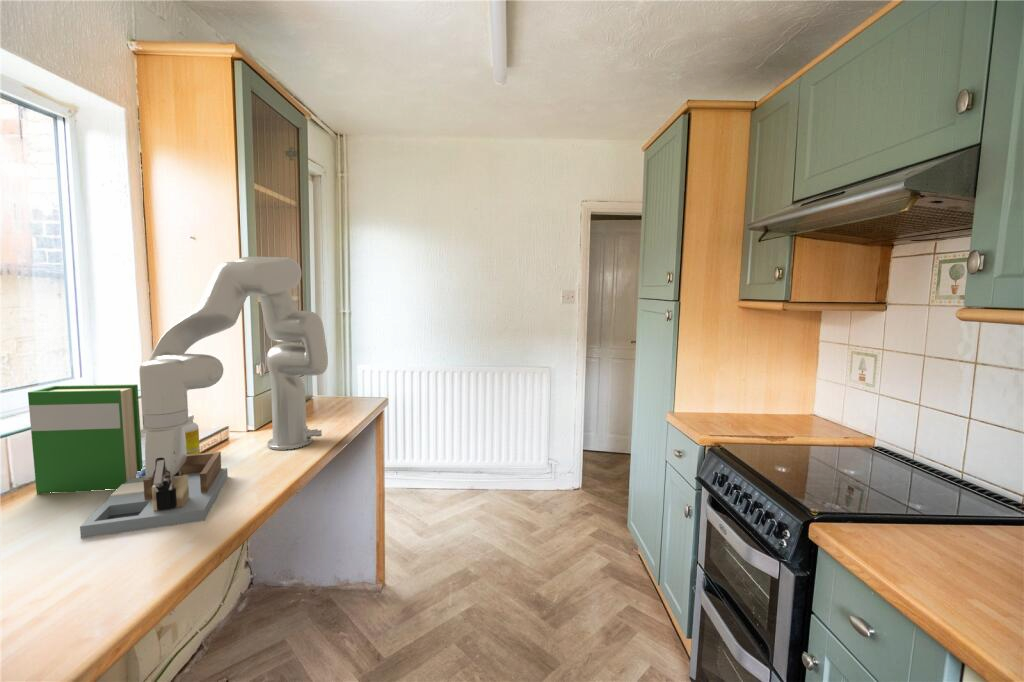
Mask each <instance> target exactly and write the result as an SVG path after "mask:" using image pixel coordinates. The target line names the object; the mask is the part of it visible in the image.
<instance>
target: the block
mask: <svg viewBox="0 0 1024 682" xmlns="http://www.w3.org/2000/svg"><path fill="white" fill-rule="evenodd" d="M164 480H165V481H167V482H168V483H169V478H166V479H164ZM174 488H176V502H177V506H176V507H175V508H178V507H183V505H184V504H185V502H186V501H187V499H188V498H189V486H188V475H182V476H174ZM174 488H173V489H174ZM155 489H156V487H155V485H153V486H152V501H153V511H156V510H157V501H156V491H155Z"/></svg>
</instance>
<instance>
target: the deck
mask: <svg viewBox="0 0 1024 682" xmlns="http://www.w3.org/2000/svg"><path fill="white" fill-rule="evenodd" d="M200 473H201V472H200ZM200 473H191V474H183V475H188V486H189V498H188V499H187V501H186V502H185V504H184V505H183V507H178V508H171V509H164V510H156V511H153V501H152V500H145V498H144V482H143V480H144V479H145V478H146V476H143V477H139V478H130V479H129V480H128V481H127V482H126V483H125V484H122V485H121V486H120V487H119V488H118V489H117V490H114V491H113V492H112V493H111V494H110V497H109V498H108V499H107V500H105V502H104V503H103V504H102V505H101V506H99V508H98V509H96V511H95V512H94V513H92V514H91V515H90V516H89V517H88V518H87V519H86V520H85V521H84V522H82V524H81V525H80V526H79V531H80V539H86V538H93V537H100V536H106V535H113V534H121V533H128V532H135V530H136V531H141V530H147V529H156V528H162V527H167V526H168V527H169V526H170V527H171V526H176V525H177V526H178V525H183V524H191V523H197V522H203V521H205V520H206V519H207V517H208V515H209V514H210V512H211V509H212V507H213V506H212V505H214V504H215V502H216V500H217V499H218V498H217V497H218V496H219V494H220V492H221V490H222V489H221V488H223V487H222V486H224V485H223V484H225V483H226V481H227V479H228V468H227V467H223V468H222V467H221V470H220V472H219V473H218V475H217V477H216V478H215V480H214V482H213V484H212V485H211V487H210V489H209V490H208V492H207V493H201V485H200Z"/></svg>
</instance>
